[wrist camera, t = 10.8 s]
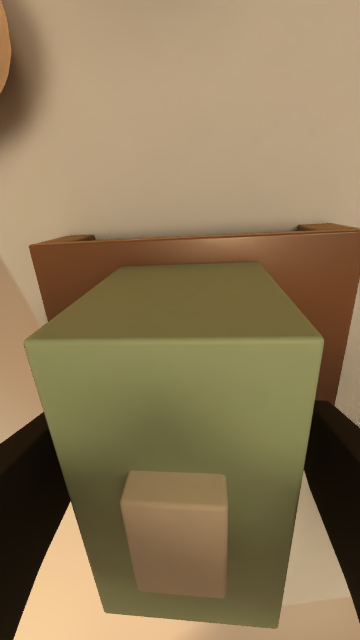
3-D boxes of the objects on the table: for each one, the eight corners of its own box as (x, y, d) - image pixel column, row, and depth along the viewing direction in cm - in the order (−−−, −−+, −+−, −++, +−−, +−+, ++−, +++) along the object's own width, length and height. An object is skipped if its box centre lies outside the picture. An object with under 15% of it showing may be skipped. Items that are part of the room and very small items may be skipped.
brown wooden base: (302, 425, 16) (322, 472, 13) (103, 421, 17) (83, 462, 14) (332, 223, 12) (370, 229, 9) (65, 235, 13) (27, 245, 10)
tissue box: (248, 452, 13) (285, 670, 7) (144, 448, 14) (94, 649, 8) (259, 261, 10) (349, 362, 4) (119, 266, 10) (-10, 362, 4)
